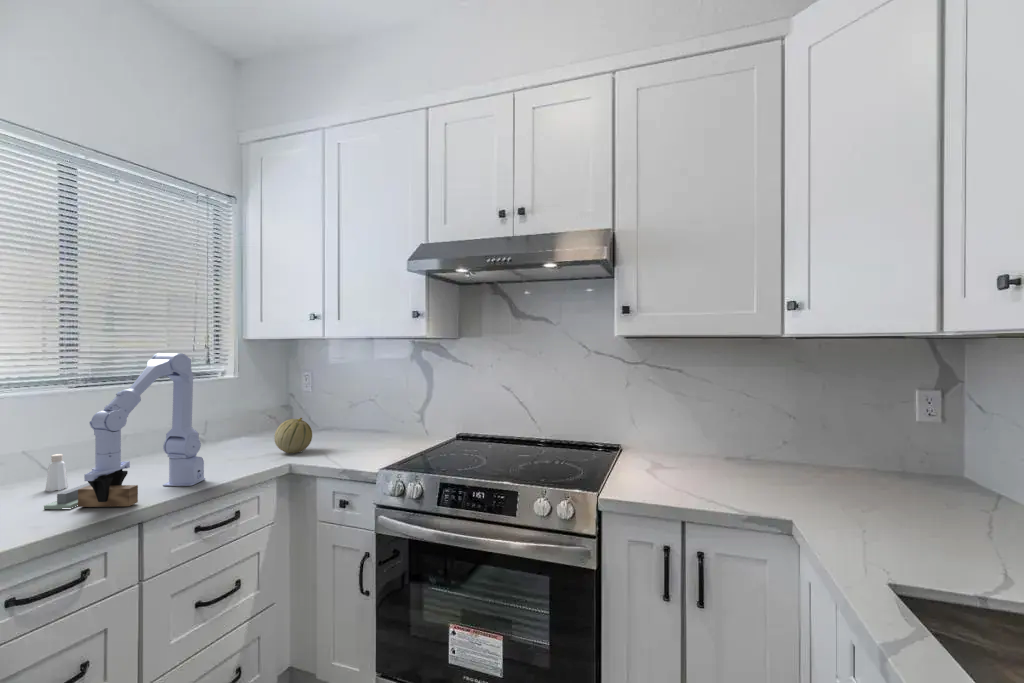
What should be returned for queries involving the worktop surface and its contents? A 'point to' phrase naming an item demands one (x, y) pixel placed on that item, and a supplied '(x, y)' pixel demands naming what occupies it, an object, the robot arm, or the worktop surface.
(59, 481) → the pepper shaker
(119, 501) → the walnut bar
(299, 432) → the cantaloupe
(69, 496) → the ridge stand
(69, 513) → the worktop surface
